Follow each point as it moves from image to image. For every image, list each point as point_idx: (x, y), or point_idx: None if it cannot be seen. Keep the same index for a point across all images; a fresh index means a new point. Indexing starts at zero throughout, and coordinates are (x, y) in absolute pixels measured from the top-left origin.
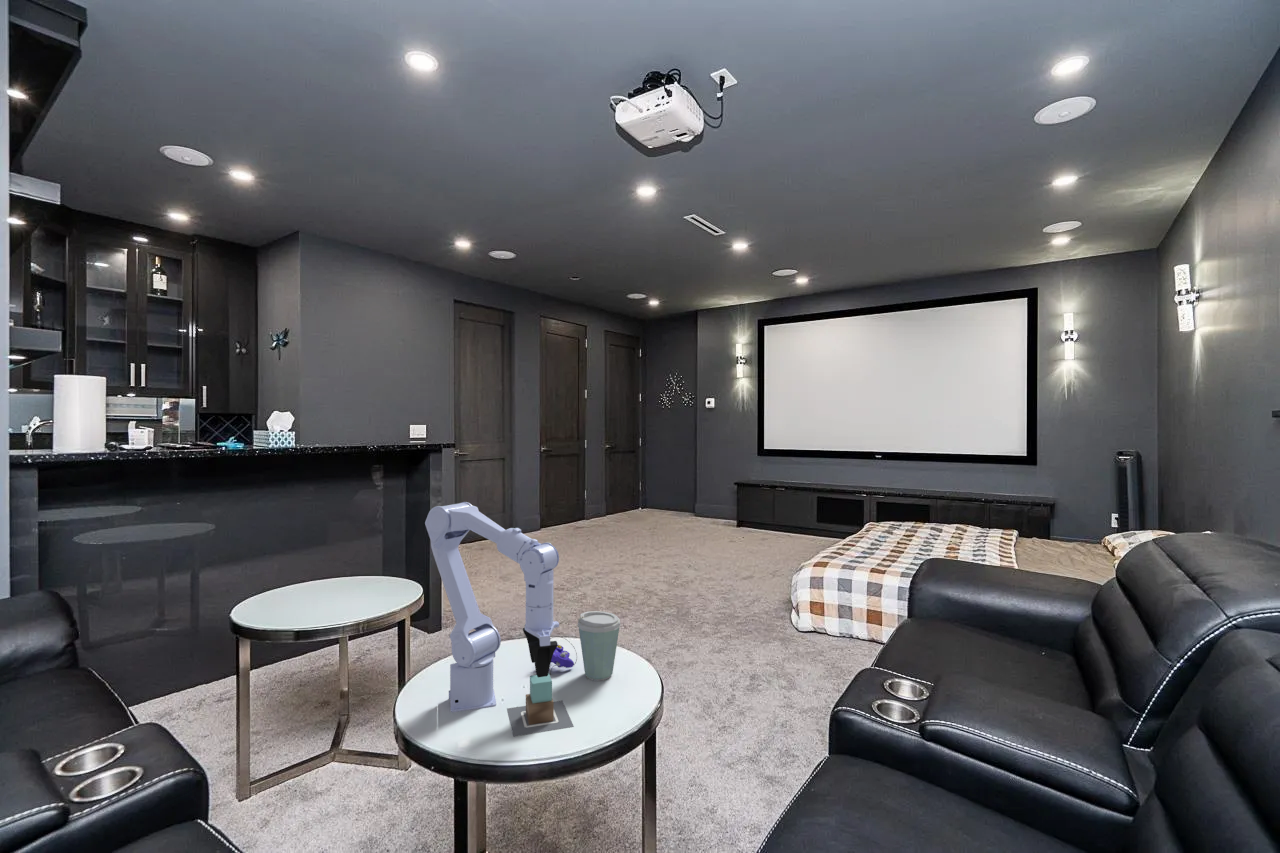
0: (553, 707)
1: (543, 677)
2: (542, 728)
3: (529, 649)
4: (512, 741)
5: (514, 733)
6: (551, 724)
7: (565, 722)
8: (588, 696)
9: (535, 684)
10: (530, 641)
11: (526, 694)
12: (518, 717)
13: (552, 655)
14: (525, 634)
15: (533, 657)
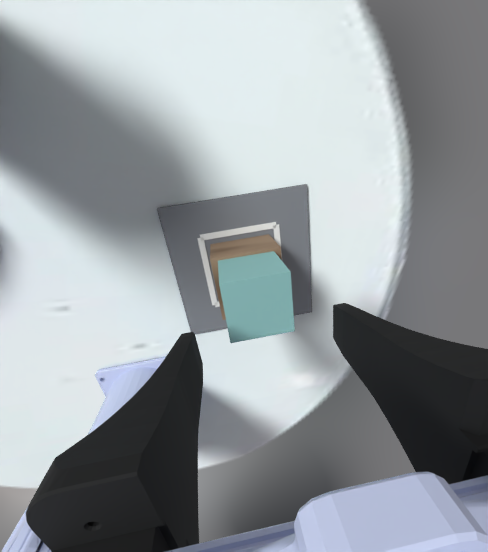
0: (276, 242)
1: (252, 301)
2: (296, 258)
3: (198, 422)
4: (321, 310)
5: (301, 311)
6: (283, 239)
7: (282, 205)
8: (123, 120)
9: (292, 320)
10: (194, 462)
11: (222, 318)
12: None
13: (444, 340)
14: (197, 539)
15: (200, 375)
